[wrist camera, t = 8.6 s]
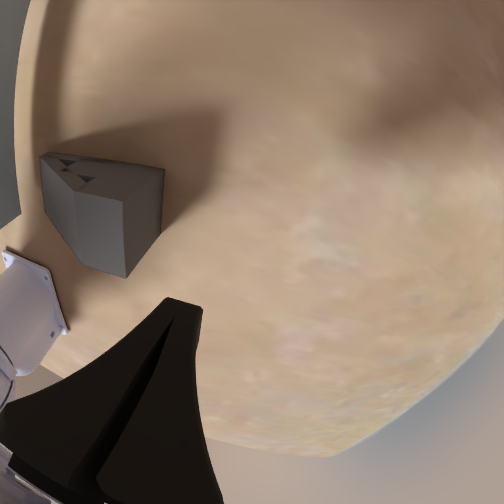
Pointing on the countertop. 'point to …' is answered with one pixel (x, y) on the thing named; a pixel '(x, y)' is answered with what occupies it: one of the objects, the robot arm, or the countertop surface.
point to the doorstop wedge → (103, 208)
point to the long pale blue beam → (9, 103)
